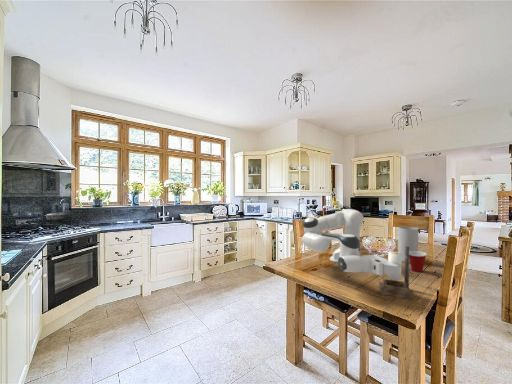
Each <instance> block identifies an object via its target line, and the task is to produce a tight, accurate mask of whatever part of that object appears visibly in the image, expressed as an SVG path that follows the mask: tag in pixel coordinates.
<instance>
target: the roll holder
mask: <svg viewBox="0 0 512 384" xmlns="http://www.w3.org/2000/svg"><path fill="white" fill-rule="evenodd" d="M403 275H404V278H403V279H404V281H403V280H394V279H390V278H382V281H378V282H379V283H378V285H379V293H380V295H383V296H390V297H394V298H399V299H407V300H411V301H412V300H414V298H413V297H414V296H413V294H412V291H411V289H410V263H409V247H408V246H405V262H404V274H403Z"/></svg>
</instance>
